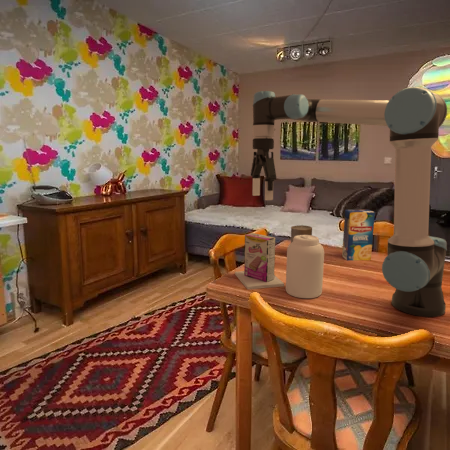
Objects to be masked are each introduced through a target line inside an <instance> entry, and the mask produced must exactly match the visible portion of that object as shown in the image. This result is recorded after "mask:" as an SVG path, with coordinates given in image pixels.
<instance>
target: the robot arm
mask: <svg viewBox="0 0 450 450" xmlns="http://www.w3.org/2000/svg"><path fill="white" fill-rule="evenodd" d="M252 102H253V103H252V119H253V120H252V121H253V122H252V138H253V139H252V149H253V150H256V151H253V156H252V157H253V158H252V163H251V170H250V177H252V196H254V197H255V196H260V195H261V173H262V169H263V172H264V176H265V179H264V201H273V200H274V182H275V181H276V180H277V173H276V166H275V160H274V152H273V151H270V150H274V148H275V139H274V138H273V137H275V131H276V128H275V121H277V120H293V121H303V122H309V123H315V122H316V123H333V124H346V125H347V124H348V125H349V124H351V125H365V126H366V125H367V126H381V127H382V126H383V127H388V129H389V144H390V145H391V146H392V147H393V148H394V149H395V156H394V158H395V160H394V161H395V162H394V205H393V207H394V208H393V235H392V236H391V237H389V238H388V239H387V256H385V257H384V260H383V262H382V264H381V265H382V266H381V271H382V275H383V277H384V279H385V281H386V282H387V283H388V284H389V285H390V286H391V287H393V288H394V289H395V290H394V292H393V294H392V295H391V305H392V306H393V307H394V308H395V309H397V310H399V311H401V312H403V313H406V314H409V315H412V316H417V317H418V316H419V317H425V318H435V317H437V318H438V317H441V316H443V315H445V313H446V307H447V305H446V301H445V297H444V293H443V288H442V286H443V277H444V269H445V262H446V254H447V251H448V249H447V245H448V243H447V241H446V239H445V238H440V237H436V236H430V235H429V226H430V225H429V223H430V222H429V221H430V219H429V218H430V194H431V171H432V170H431V169H432V168H431V167H432V166H431V164H432V147H433V145H434V144H435V143H437V142H438V140H439V134H440V133H439V132H440V131H439V130H440V129H439V128H441V126H442V125H443V124H444V122H445V121H446V119H447V115H448V107H447V103H446V100H445V99H444V98H443V97H442V96H441V95H439V94H438V93H435V92H433V91H431V90H430V89H428V88H426V87H421V86H409V87H405V88H403V89H401V90H399V91H397V92H396V93H395V94H393V95H392V97H391V98H390V99H389V100H388V99H387V100H386V99H385V100H384V99H382V100H379V99H377V100H375V99H374V100H373V99H320V98H317V99H315V98H308V97H306V95H304V94H298V93H297V94H295V93H294V94H293V93H292V94H289V95H281V96H276V93H275V92H274V91H269V90H261V91H257V92H255V93H254V94H253V101H252Z"/></svg>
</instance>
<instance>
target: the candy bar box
mask: <svg viewBox="0 0 450 450" xmlns="http://www.w3.org/2000/svg"><path fill="white" fill-rule="evenodd" d="M275 263H276V237H273V236H269V235H264V234H259V233H255V232H250V233H248V234H244V268H243V269H244V270H243V271H244V275H245V276H248V277H251V278H255V279H258V280H261V281H264V282H269V281H271V280H273V279H274V275H275V267H276V266H275V265H276V264H275Z"/></svg>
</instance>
